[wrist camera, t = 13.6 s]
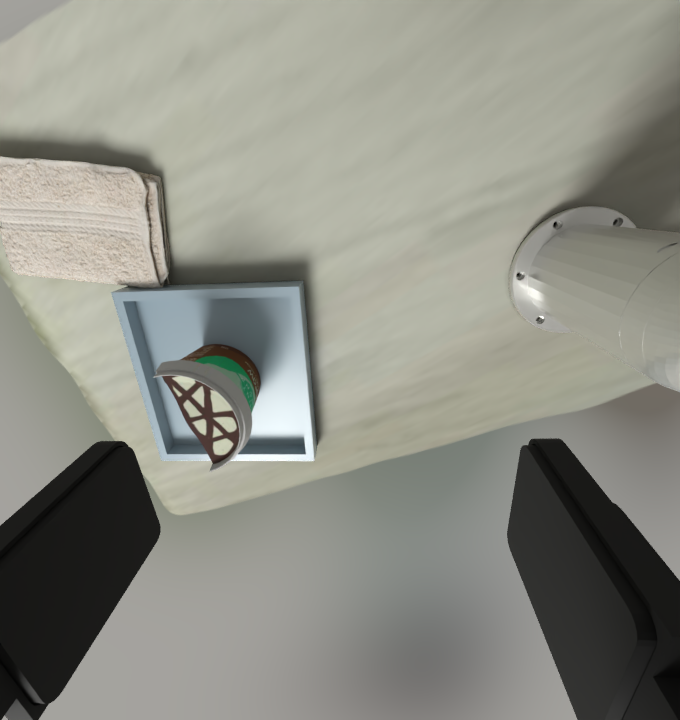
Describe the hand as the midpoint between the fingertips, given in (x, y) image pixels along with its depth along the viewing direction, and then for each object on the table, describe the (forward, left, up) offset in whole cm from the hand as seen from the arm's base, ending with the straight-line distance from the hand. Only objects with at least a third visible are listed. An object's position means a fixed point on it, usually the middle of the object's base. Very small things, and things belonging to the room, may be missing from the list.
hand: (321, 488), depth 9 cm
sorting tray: (+16, +12, -33) cm, 38 cm away
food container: (+14, +12, -32) cm, 36 cm away
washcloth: (+28, -5, -33) cm, 44 cm away
